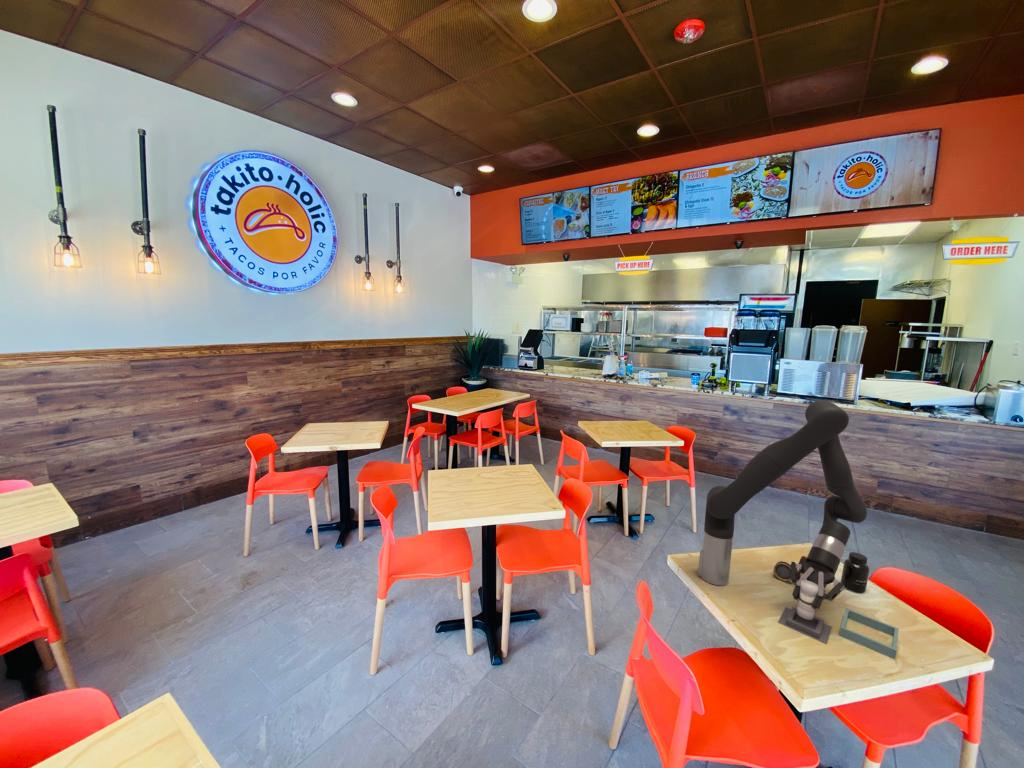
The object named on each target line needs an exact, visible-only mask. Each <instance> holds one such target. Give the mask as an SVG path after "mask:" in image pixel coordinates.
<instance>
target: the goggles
mask: <svg viewBox="0 0 1024 768" xmlns="http://www.w3.org/2000/svg"><path fill="white" fill-rule="evenodd" d="M806 559H807V556H805V555H801V557H800V559H799V561H798V564H803V563H804V562H805V561H806ZM773 573H774V576H775V577H776V578H777V579H779V580H780V581H783V582H785V583H786V584H788V585H792V584H793V583H792V581H791V563H788V562H786V561H783V560H782V561H778V562H776V563H775V565H774V566H773ZM803 574H804V572H803V570H802V569H800V570H799V571H797V581H798V580H799V579H800V578H801V576H802V575H803ZM826 587H827V585H825V588H826Z"/></svg>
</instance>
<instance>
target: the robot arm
mask: <svg viewBox="0 0 1024 768" xmlns="http://www.w3.org/2000/svg"><path fill="white" fill-rule="evenodd" d="M804 415H805V420H806V423H805V424H804V425H803V426H802V427H801V428H800V429H799V430H797V431H796V432H795V433H793V434H792V435H790V436H788V437H786V438H782V439H780V440H778V441H774V442H773V443H771V444H769V445H767V446H765V448H763V449H762V450H761V451H760V452H758V453H757V454H756V455H755V456H754V457H752V458H751V459H750V461H748V462H747V464H746V465H745V467H744V468H743V470H741V472H740V473H739V475H738V476H737V477H736V478H735V479H734V480H733V481H732V482H731V483H729V484H728V485H727V486H724V485H717V486H713V487H712V488H711V489H709V491H708V493H707V495H706V503H705V515H704V526H703V538H702V548H701V549H700V551H699V558H698V569H697V576H698V577H700V578H701V579H702V580H704V581H705V582H707V583H709V584H712V585H715V586H726V585H727V584H728V583H729V579H730V571H731V569H730V568H731V560H732V551H733V544H734V543H733V541H734V533H735V515H736V514H737V513H738V512H739V511H740V510H741V509H742V508H743V507H744V506H745V505H746V504H747V503H748V502H749V501H750V500H751V499H752V498H753V497H755V496H756V495H758V494H759V493H760V492H761V491H764V489H766V488H767V487H769V486H770V485H771V484H772V483H773V482H775V481H777V480H778V479H779V478H781V477H782V476H784V475H785V474H786V473H787V472H789V471H790V469H792V468H793V467H794V466H795V465H797V464H798V463H799V462H801V461H802V460H803V459H805V458H806V457H808V456H809V454H811V453H812V452H813V451H815V450H818V453H819V454H818V455H819V457H820V462H821V466H822V467H821V468H822V471H823V477H824V481H825V485H826V489H827V490H828V492H829V493H831V494H833V495H831V496H828V497H827V498H826V500H825V501H824V506H823V521H822V525H821V528H820V530H819V532H818V535H817V536H816V538H815V539H814V541H813V543H812V546H811V547H810V549H809V552H808V555H807V556H806V557H807V559H806V561H805V562H804V563H803V564H799V563H796V562H795V561H791V562H790V565H791V580H790V581H792V584H794V585H795V587H794V588H793V591H792V596H793V599H794V600H795V601H798V602H799V595H800V586H801V581H802V580H808V581H811V582H814V583H815V584H817V585H818V594H817V595H816V597H815V600H814V602H813V604H812V608H813V609H815V611H817V610H820V608H821V606H822V604H823V601H824V600H827V601H829V602H833V600H834V599H835V598H837V596H839V594H841V592H843V591H844V590H845V587H844V585H843V583H841V581H839V580H837V579H836V573H837V571H838V568H839V566H840V565H841V564H840V563H841V561H842V560H843V556H844V553H845V549H846V547H847V543H848V541H849V539H850V536H851V530H850V528H849V527H848V526H846V525H845V524H843V523H842V522H840V521H838V520H843V521H847V522H851V523H856V524H860V523H862V522H864V521H865V520H866V519H867V516H868V511H867V510H868V509H867V506H866V504H865V502H864V500H863V497H862V496H860V493H859V491H858V489H857V487H855V482H854V478H853V473H852V470H851V466H850V463H849V460H848V458H847V456H846V454H845V451H844V449H843V446H842V444H841V441H840V437H839V435H840V434H841V433H842V432H844V431H845V429H847V427H848V424H849V422H850V418H849V415H848V413H847V412H846V411H845V410H844V409H843V408H841V407H839V406H838V405H836V404H835V403H834V402H831V401H829V400H824V399H817V400H815V401H813V402H811V403H809V404H808V405H807V407H806V409H805V412H804ZM800 569H802V570H803V572H804V574H803V573H802V574H801V575H800V579H799V580H798V581H797V571H799V570H800ZM832 583H833V584H832ZM830 584H832V585H833V587H832V588H831V589H830V590H829V591H828V592H827V593H826V587H825V585H826V586H827V585H830Z"/></svg>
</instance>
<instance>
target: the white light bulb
mask: <svg viewBox="0 0 1024 768" xmlns="http://www.w3.org/2000/svg"><path fill="white" fill-rule="evenodd" d="M816 595H818V585H817V584H815V583H814V582H811V581H808V580H802V581H801V586H800V595H799V599H798V603H797V605H796V608H797V614H798V615H799V616H800V617H802V618H804V619H807V620H813V619H814V616H815V612H816V610H815V609H813V608H812V604H813V602H814V600H815V597H816Z"/></svg>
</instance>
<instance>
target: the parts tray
mask: <svg viewBox="0 0 1024 768" xmlns="http://www.w3.org/2000/svg"><path fill="white" fill-rule="evenodd" d="M842 617H843V618H842V621H841V624H840V630H839V636H840V637H842V638H844V639H847V640H849V641H851V642H854V643H856V644H859V645H860V646H863V647H865V648H867V649H870V650H873V651H875V652H877V653H880V654H882V655H884V656H887V657H889V658H891V659H894V660H896V658H897V650H898V641H899V631H900V630H899V627H896V626H894V625H891V624H888V623H886V622H884V621H880V620H878V619H876V618H873V617H870V616H868V615H865V614H863V613H860V612H857V611H855V610H852V609H849V608H845V610H844V614H843V616H842ZM848 619H849V620H852V621H855V622H857V623H860V624H862V625H864V626H866V627H870V628H871V629H875V630H876V631H879V632H882V633H884V634H887V635H888V636H889V635H890V636H892V637H893V638H892V646H890V645H887V644H885V643H883V642H880V641H877V640H876V639H873V638H871V637H868V636H866V635H863V634H861V633H858V632H856V631H854V630H851V629H849V628H846V627H847V622H848Z"/></svg>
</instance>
